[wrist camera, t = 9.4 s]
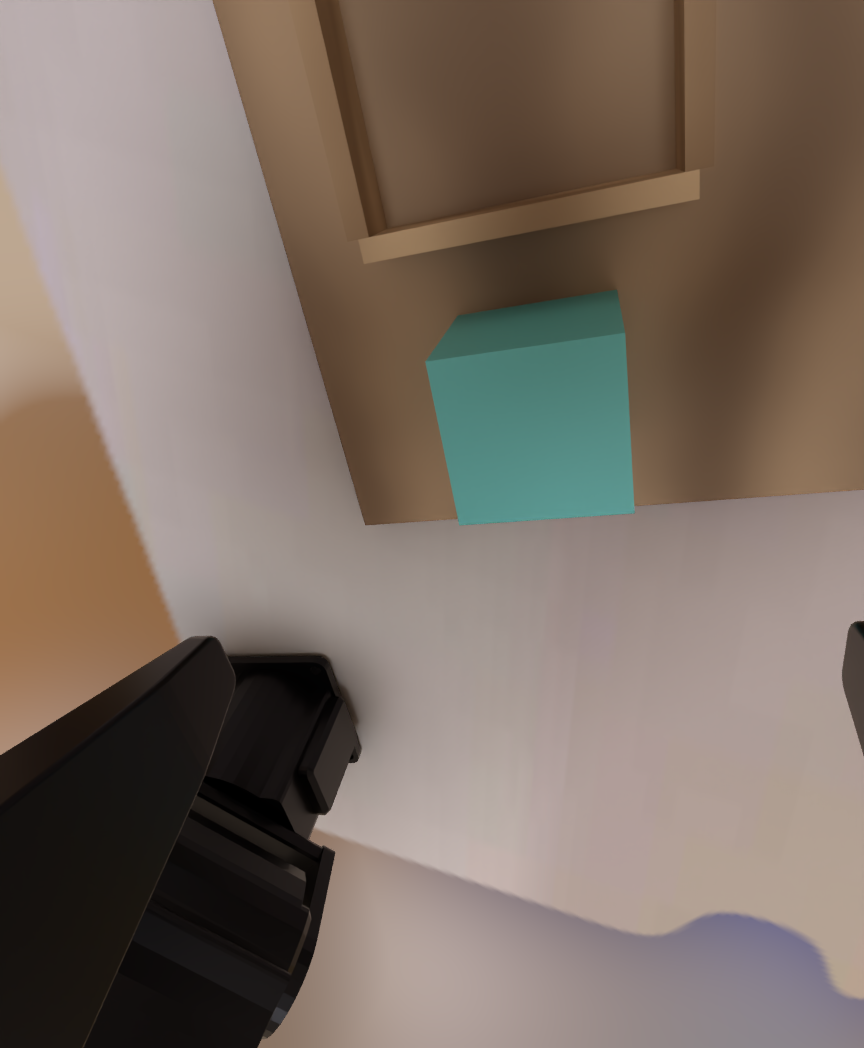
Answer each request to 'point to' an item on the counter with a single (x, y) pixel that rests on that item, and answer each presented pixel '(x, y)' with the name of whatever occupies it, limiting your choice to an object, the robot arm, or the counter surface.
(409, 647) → the counter surface
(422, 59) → the board
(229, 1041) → the robot arm
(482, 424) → the block
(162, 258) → the counter surface
